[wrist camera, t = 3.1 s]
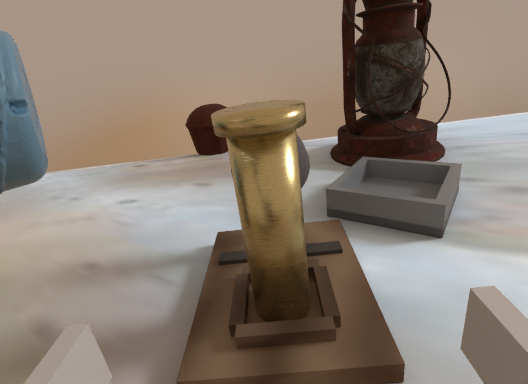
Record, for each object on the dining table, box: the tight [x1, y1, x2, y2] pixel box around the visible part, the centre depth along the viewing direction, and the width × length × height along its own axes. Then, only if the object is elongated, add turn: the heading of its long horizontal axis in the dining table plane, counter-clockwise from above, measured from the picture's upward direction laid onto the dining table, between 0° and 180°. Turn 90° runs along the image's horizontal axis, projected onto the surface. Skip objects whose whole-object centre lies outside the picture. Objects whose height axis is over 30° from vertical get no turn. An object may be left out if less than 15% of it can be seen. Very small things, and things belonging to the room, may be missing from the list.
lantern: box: [330, 0, 451, 167], centre depth 51 cm, size 19×19×30 cm
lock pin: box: [211, 100, 311, 322], centre depth 20 cm, size 5×5×14 cm
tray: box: [326, 157, 462, 238], centre depth 38 cm, size 12×12×4 cm
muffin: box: [186, 104, 228, 155], centre depth 71 cm, size 12×11×10 cm
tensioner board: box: [177, 134, 405, 384], centre depth 24 cm, size 13×17×12 cm
